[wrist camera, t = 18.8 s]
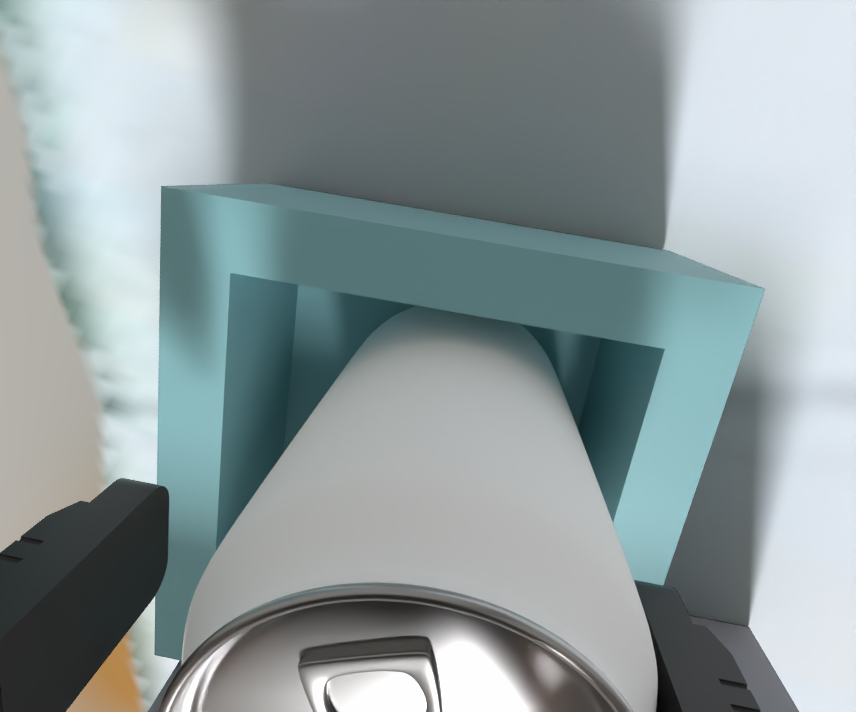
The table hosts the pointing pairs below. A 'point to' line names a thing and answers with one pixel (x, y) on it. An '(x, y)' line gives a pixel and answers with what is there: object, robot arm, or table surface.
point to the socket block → (434, 288)
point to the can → (424, 548)
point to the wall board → (740, 644)
